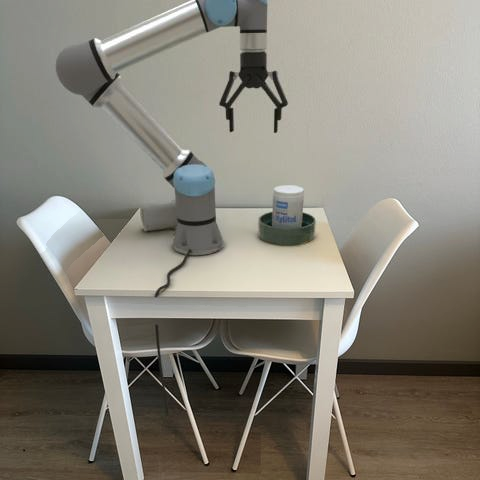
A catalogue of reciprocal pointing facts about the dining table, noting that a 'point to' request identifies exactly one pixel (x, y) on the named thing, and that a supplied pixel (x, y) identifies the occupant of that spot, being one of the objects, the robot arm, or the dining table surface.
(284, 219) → the supplement tub
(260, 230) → the dark green bowl
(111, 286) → the dining table surface
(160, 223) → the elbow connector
